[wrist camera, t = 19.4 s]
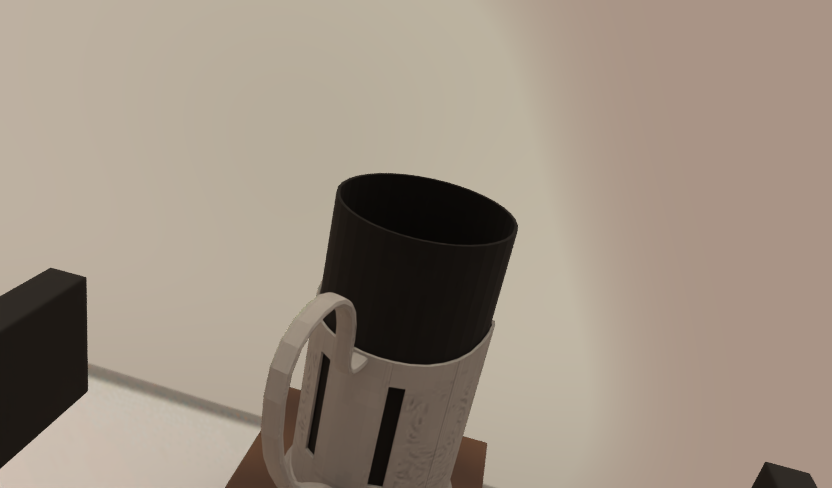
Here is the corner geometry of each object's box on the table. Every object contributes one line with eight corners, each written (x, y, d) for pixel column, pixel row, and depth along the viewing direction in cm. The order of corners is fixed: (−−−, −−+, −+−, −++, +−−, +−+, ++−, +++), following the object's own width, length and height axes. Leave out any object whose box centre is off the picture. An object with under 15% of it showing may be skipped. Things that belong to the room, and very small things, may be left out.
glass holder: (476, 468, 34) (555, 212, 28) (340, 712, 22) (429, 352, 16) (337, 401, 37) (383, 155, 31) (148, 585, 25) (164, 237, 19)
